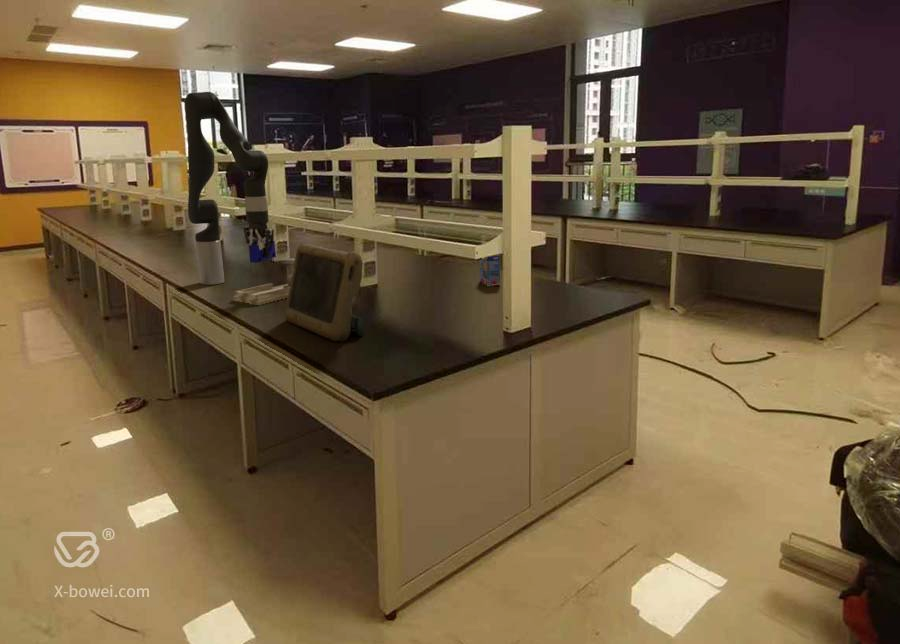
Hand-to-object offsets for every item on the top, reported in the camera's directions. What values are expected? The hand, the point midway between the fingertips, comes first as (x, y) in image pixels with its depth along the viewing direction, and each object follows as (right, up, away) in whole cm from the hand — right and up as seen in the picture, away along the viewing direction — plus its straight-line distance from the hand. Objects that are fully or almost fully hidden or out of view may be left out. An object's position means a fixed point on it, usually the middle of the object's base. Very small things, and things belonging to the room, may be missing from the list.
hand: (260, 256), depth 231 cm
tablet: (+29, -26, -34) cm, 52 cm away
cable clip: (0, -1, +1) cm, 1 cm away
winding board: (+3, -14, +8) cm, 16 cm away
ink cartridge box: (+83, -8, +25) cm, 87 cm away
